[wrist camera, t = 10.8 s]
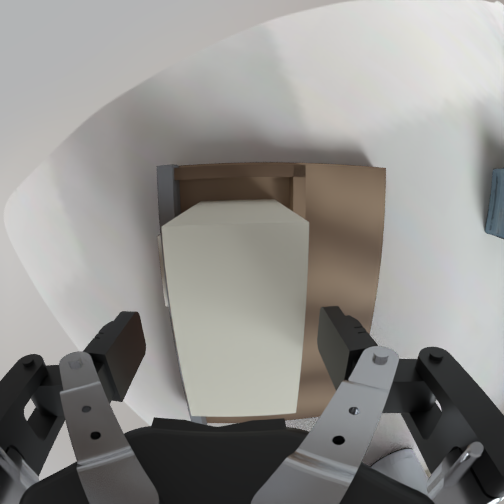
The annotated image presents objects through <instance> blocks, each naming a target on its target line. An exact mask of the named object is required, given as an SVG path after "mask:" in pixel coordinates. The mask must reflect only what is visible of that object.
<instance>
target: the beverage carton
mask: <svg viewBox="0 0 504 504" xmlns="http://www.w3.org/2000/svg"><path fill="white" fill-rule="evenodd" d="M485 232H486V233H487V234H491V235H494V236H497V237H499V238H502V239H504V168H501V169H493V176H492V188H491V196H490V203H489V211H488V217H487V222H486V228H485Z"/></svg>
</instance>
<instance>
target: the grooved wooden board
mask: <svg viewBox="0 0 504 504" xmlns="http://www.w3.org/2000/svg"><path fill="white" fill-rule="evenodd" d="M157 186H158V205H159V220H160V233H161V234H159V235H158V236H157V239H158V250H159V259H160V268H161V277H162V285H163V292H164V299H165V306H166V307H169V311H170V318H171V324H172V331H173V337H174V342H175V348H176V353H177V359H178V364H179V369H180V374H181V379H182V383H183V388H184V393H185V397H186V401H187V406H188V410H189V414H190V418H191V422H195V423H199V424H204V425H207V423H242V422H247V421H251V420H267V419H280V418H284V419H285V420H295V419H304V418H312V417H319V416H321V415H322V413H323V412H324V410H325V408H326V407H327V405H328V404H329V402H330V401H331V399H332V397H333V396H334V394H335V392H336V390H335V387H334V385H333V383H332V380H331V378H330V376H329V373H328V371H327V369H326V367H325V364H324V362H323V360H322V357H321V355H320V353H319V350H318V345H317V336H318V324H319V313H320V308H321V307H328V306H339V308H340V309H341V310H342V312H343V313H344V315H345V316H347V315H350V316H352V317H353V318H355V319H357V320H358V321H359V322H360V323H361V325H362V326H363V327H364V328H365V330H366V331H367V332H368V333H369V334H370V329H371V324H372V318H373V312H374V306H375V300H376V294H377V287H378V279H379V271H380V263H381V253H382V243H383V230H384V215H385V189H386V168H379V167H368V166H355V165H340V164H320V163H284V162H255V163H218V164H198V165H183V166H177V165H162V166H157ZM260 199H274V200H276V201H278V202H279V203H281V204H282V205H284V206H285V207H287V208H288V209H290V210H291V211H293V212H294V213H296V214H298V215H299V216H301V217H302V218H304V219H305V220H307V221H308V222H309V249H308V275H307V295H306V311H305V326H304V339H303V351H302V362H301V372H300V382H299V391H298V400H297V408H296V413H291V414H279V415H265V416H242V417H207V416H191V412H190V408H189V404H188V400H187V395H186V391H185V387H184V382H183V377H182V372H181V367H180V362H179V357H178V352H177V346H176V340H175V335H174V328H173V322H172V316H171V309H170V302H169V295H168V287H167V279H166V271H165V262H164V252H163V242H162V241H163V240H162V228H161V227H162V226H163V225H165V224H166V223H168V222H169V221H171V220H172V219H174V218H175V217H177V216H179V215H180V214H182V213H183V212H185V211H186V210H188V209H190V208H191V207H193V206H194V205H196V204H197V203H199V202H201V201H223V200H260Z"/></svg>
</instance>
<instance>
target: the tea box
mask: <svg viewBox="0 0 504 504" xmlns="http://www.w3.org/2000/svg"><path fill="white" fill-rule="evenodd" d="M161 228H162V240H163V241H162V242H163V252H164V262H165V271H166V279H167V287H168V295H169V302H170V309H171V316H172V322H173V328H174V335H175V340H176V346H177V352H178V357H179V362H180V367H181V372H182V377H183V382H184V387H185V391H186V395H187V400H188V404H189V408H190V412H191V416H207V417H242V416H265V415H279V414H291V413H296V408H297V400H298V391H299V382H300V372H301V362H302V351H303V339H304V326H305V311H306V295H307V275H308V249H309V222H308V221H307V220H305V219H304V218H302V217H301V216H299V215H298V214H296V213H294V212H293V211H291V210H290V209H288V208H287V207H285V206H284V205H282V204H281V203H279V202H278V201H276V200H274V199H260V200H223V201H201V202H199V203H197V204H196V205H194V206H193V207H191V208H190V209H188V210H186V211H185V212H183V213H182V214H180V215H179V216H177V217H175V218H174V219H172V220H171V221H169V222H168V223H166V224H165V225H163V226H162V227H161Z"/></svg>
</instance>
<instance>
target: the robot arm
mask: <svg viewBox="0 0 504 504" xmlns="http://www.w3.org/2000/svg"><path fill="white" fill-rule="evenodd" d="M317 345H318V350H319V353H320V355H321V357H322V360H323V362H324V364H325V367H326V369H327V371H328V373H329V376H330V378H331V380H332V383H333V385H334V387H335V390H336V392H335V394H334V396H333V397H332V399H331V401H330V402H329V404H328V405H327V407H326V408H325V410H324V412H323V413H322V415H321V416H320V418H319V419H318V421H317V422H316V424H315V425H314V426H313V428H312V429H311V431H310V432H308V431H305V430H301V429H296V428H290V427H286V424H285V419H284V418H280V419H267V420H251V421H247V422H242V423H237V424H232V425H227V426H222V427H213V426H208V425H204V424H199V423H195V422H191V421H187V420H178V419H165V418H155V417H154V420H153V423H152V426H148V427H143V428H138V429H135V430H132V431H129V432H127V433H125V434H124V433H123V431H122V429H121V427H120V425H119V423H118V421H117V419H116V417H115V415H114V413H113V410H112V408H111V406H110V402H111V401H112V400H113V401H119V402H122V401H123V399H124V397H125V395H126V393H127V391H128V388H129V386H130V384H131V382H132V380H133V378H134V376H135V374H136V372H137V370H138V367H139V365H140V363H141V361H142V359H143V357H144V355H145V351H146V343H145V338H144V334H143V329H142V324H141V319H140V315H139V313H138V312H128V311H122V312H121V313H120V314H119V315H118V316H117V317H116V319H115V320H114V321H111V322H110V323H108V324H106V325H105V326H103V328H102V329H101V330H100V331H99V334H97V335H96V336H95V339H94V338H93V340H92V341H91V342H90V343H89V345H88V346H87V347H86V348H85V350H84V351H83V352H73V353H70V354H68V355H66V356H64V357H63V358H62V359H61V361H60V363H59V365H50V366H46V365H45V363H44V360H43V358H42V357H41V356H40V355H37V354H31V355H27V356H24V357H22V358H21V359H19V360H18V362H17V363H16V364H15V365H14V366H13V367H12V368H11V369H10V370H9V372H8V373H7V374H6V375H5V376H4V377H3V379H2V380H1V381H0V504H497V503H499V502H500V501H501V500H502V499H503V498H504V415H503V414H502V413H501V412H500V410H499V409H498V408H497V407H496V406H495V404H494V403H493V402H492V401H491V399H490V398H489V397H488V396H487V395H486V394H485V392H484V391H483V390H482V389H481V388H480V387H479V385H478V384H477V383H476V382H475V381H474V380H473V379H472V378H471V376H470V375H469V374H468V373H467V372H466V371H465V370H464V369H463V368H462V366H461V365H460V364H459V363H458V362H457V361H456V360H455V359H454V358H453V357H452V356H451V355H450V353H448V352H447V351H446V350H444V349H441V348H438V347H427V348H424V349H422V350H421V351H420V353H419V356H418V359H399V356H398V354H397V353H396V352H395V351H394V350H392V349H390V348H387V347H383V346H378V345H377V344H376V342H375V341H374V340H373V339H372V337H371V336H370V335H369V333H368V332H367V331H366V330H365V328H364V327H363V326H362V325H361V323H360V322H359V321H358V320H357V319H355V318H353V317H352V316H350V315H347V316H345V315H344V313H343V312H342V310H341V309H340V308H339V306H328V307H321V308H320V313H319V324H318V336H317ZM30 398H31V399H32V401H33V403H34V404H35V406H36V408H35V409H34V411H33V413H32V414H31V416H30V417H29V419H28V421H26V419H25V417H24V407H25V406H26V404H27V403H28V401H29V400H30ZM436 399H437V400H438V402H439V403H440V405H441V409H442V412H441V410H440V409H439V407H438V406H437V404H436V403H435V401H436ZM382 413H401V415H402V417H403V419H404V420H405V422H406V424H407V426H408V428H409V430H410V432H411V434H412V436H413V438H414V440H415V442H416V444H417V446H418V448H419V450H420V452H421V454H422V456H423V458H424V460H425V462H426V464H427V467H428V469H429V471H430V473H431V476H430V477H429V479H428V477H427V475H426V473H425V471H424V469H423V467H422V465H421V464H420V462H419V460H418V458H417V456H416V454H415V453H414V451H413V450H412V449H403V450H400V451H397V452H394V453H392V454H390V455H388V456H386V457H384V458H382V459H381V460H379V461H378V462H376V463H375V464H373V465H372V466H371V467H370V466H368V465H366V464H364V463H363V462H361V461H362V459H363V457H364V455H365V453H366V451H367V448H368V446H369V444H370V442H371V439H372V437H373V435H374V432H375V430H376V427H377V425H378V422H379V420H380V417H381V414H382ZM65 420H66V424H67V428H68V432H69V436H70V440H71V443H72V447H73V450H74V453H75V456H76V459H77V462H75V463H73V464H71V465H70V466H68V467H66V468H64V469H62V470H60V471H59V472H57V473H55V474H53V475H51V476H49V477H47V478H45V479H43V480H41V481H39V478H38V476H39V474H40V472H41V470H42V467H43V465H44V463H45V461H46V458H47V456H48V454H49V451H50V450H51V448H52V446H53V443H54V441H55V439H56V437H57V435H58V433H59V431H60V429H61V427H62V425H63V423H64V421H65Z"/></svg>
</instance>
